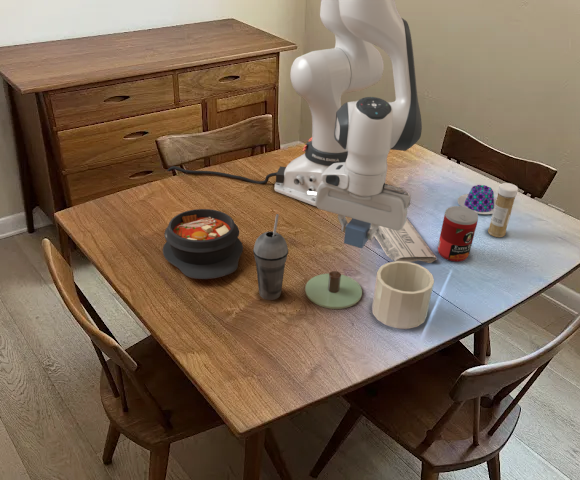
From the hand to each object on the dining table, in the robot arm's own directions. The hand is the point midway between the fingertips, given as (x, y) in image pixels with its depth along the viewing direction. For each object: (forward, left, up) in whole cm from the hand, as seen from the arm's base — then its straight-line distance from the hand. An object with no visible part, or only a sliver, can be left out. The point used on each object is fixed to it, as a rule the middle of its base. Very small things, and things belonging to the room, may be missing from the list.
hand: (357, 234), depth 136 cm
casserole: (-33, -11, -9) cm, 37 cm away
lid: (0, -11, -9) cm, 14 cm away
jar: (+15, -11, -9) cm, 21 cm away
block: (0, 0, -2) cm, 2 cm away
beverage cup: (-12, -18, -9) cm, 24 cm away
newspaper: (+6, +17, -9) cm, 20 cm away
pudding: (+21, +46, -9) cm, 51 cm away
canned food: (+20, +18, -9) cm, 28 cm away
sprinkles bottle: (+28, +33, -9) cm, 44 cm away
